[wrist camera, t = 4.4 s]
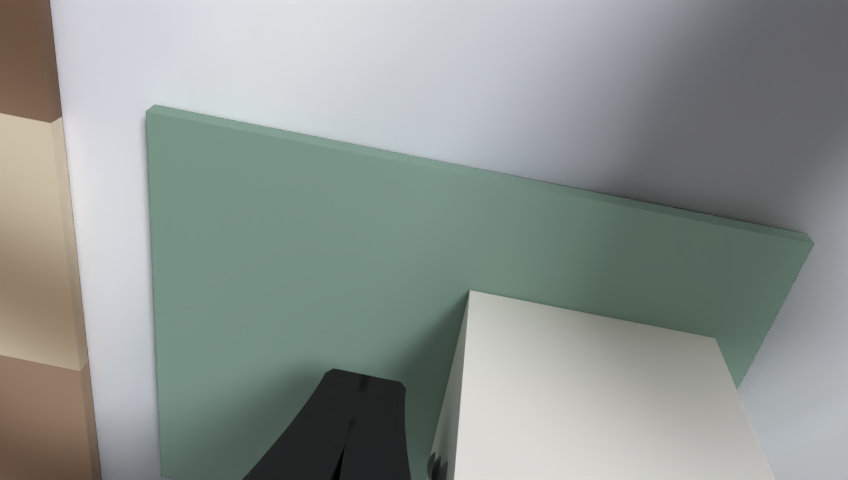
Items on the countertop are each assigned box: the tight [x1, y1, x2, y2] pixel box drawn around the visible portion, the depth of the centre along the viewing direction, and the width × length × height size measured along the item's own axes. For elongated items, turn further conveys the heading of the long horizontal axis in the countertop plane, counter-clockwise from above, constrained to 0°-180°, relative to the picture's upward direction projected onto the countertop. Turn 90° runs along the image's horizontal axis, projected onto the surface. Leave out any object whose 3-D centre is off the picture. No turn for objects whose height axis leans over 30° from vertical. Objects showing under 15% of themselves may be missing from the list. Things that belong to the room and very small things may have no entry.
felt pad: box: [146, 105, 814, 480], centre depth 12 cm, size 8×10×1 cm
